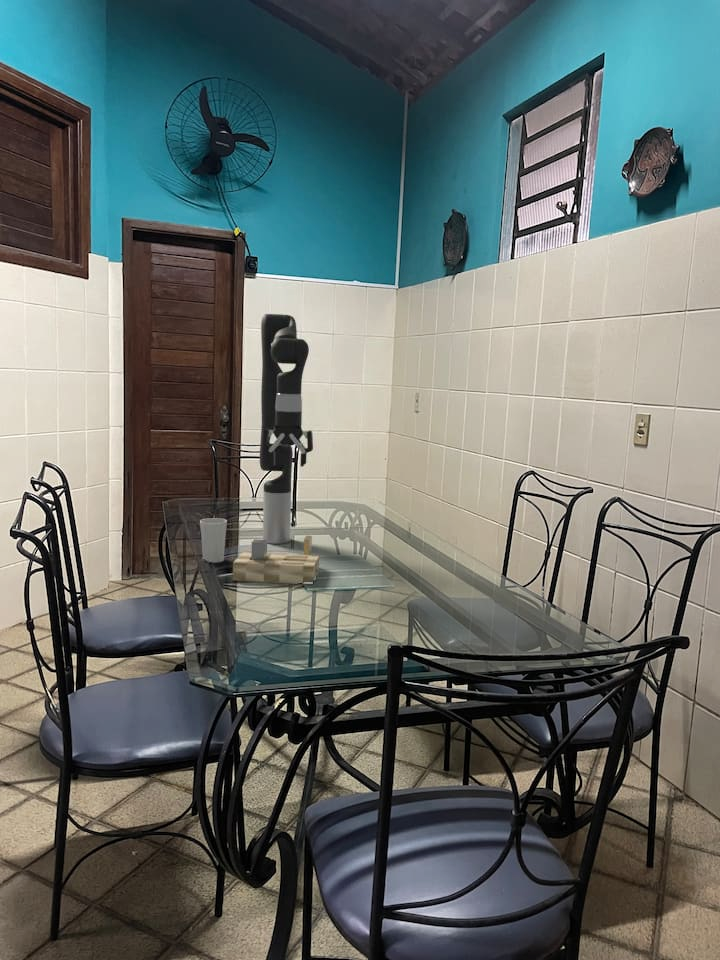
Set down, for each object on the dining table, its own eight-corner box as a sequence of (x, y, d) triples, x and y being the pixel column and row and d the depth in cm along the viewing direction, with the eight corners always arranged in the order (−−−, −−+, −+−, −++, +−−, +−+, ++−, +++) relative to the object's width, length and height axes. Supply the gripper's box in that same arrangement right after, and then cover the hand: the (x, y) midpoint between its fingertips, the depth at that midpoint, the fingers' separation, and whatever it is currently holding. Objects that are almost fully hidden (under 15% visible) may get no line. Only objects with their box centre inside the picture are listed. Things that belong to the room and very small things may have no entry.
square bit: (254, 573, 195) (254, 539, 194) (266, 574, 195) (267, 539, 194) (251, 577, 192) (251, 542, 190) (264, 578, 191) (264, 542, 190)
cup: (200, 563, 204) (200, 523, 202) (199, 556, 211) (199, 518, 210) (227, 562, 206) (228, 523, 204) (225, 556, 214) (226, 517, 212)
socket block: (243, 568, 200) (243, 551, 199) (318, 572, 199) (319, 555, 198) (232, 580, 188) (233, 562, 188) (313, 584, 187) (313, 566, 186)
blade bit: (305, 564, 207) (306, 535, 205) (311, 565, 206) (311, 535, 205) (303, 569, 201) (304, 539, 200) (308, 569, 201) (309, 539, 200)
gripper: (315, 409, 201) (313, 464, 204) (266, 407, 202) (266, 462, 205) (311, 411, 194) (310, 468, 196) (261, 409, 195) (260, 466, 197)
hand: (287, 465), depth 200 cm, fingers open, 8 cm apart
